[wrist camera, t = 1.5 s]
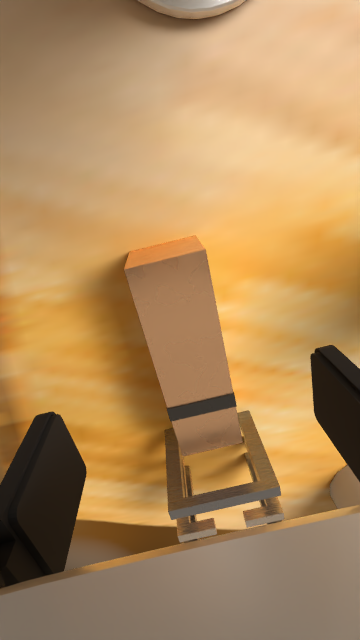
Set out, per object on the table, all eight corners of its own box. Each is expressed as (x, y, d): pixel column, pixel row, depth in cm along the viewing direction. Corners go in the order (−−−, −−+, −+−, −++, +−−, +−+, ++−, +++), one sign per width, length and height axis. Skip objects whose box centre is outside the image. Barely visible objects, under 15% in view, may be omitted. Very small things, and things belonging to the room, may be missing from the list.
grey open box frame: (164, 430, 30) (168, 511, 23) (249, 410, 30) (279, 486, 23) (179, 474, 33) (187, 560, 26) (257, 457, 33) (286, 538, 26)
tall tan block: (129, 251, 23) (123, 270, 19) (195, 235, 23) (206, 249, 18) (177, 414, 30) (182, 457, 25) (229, 402, 30) (243, 443, 25)
